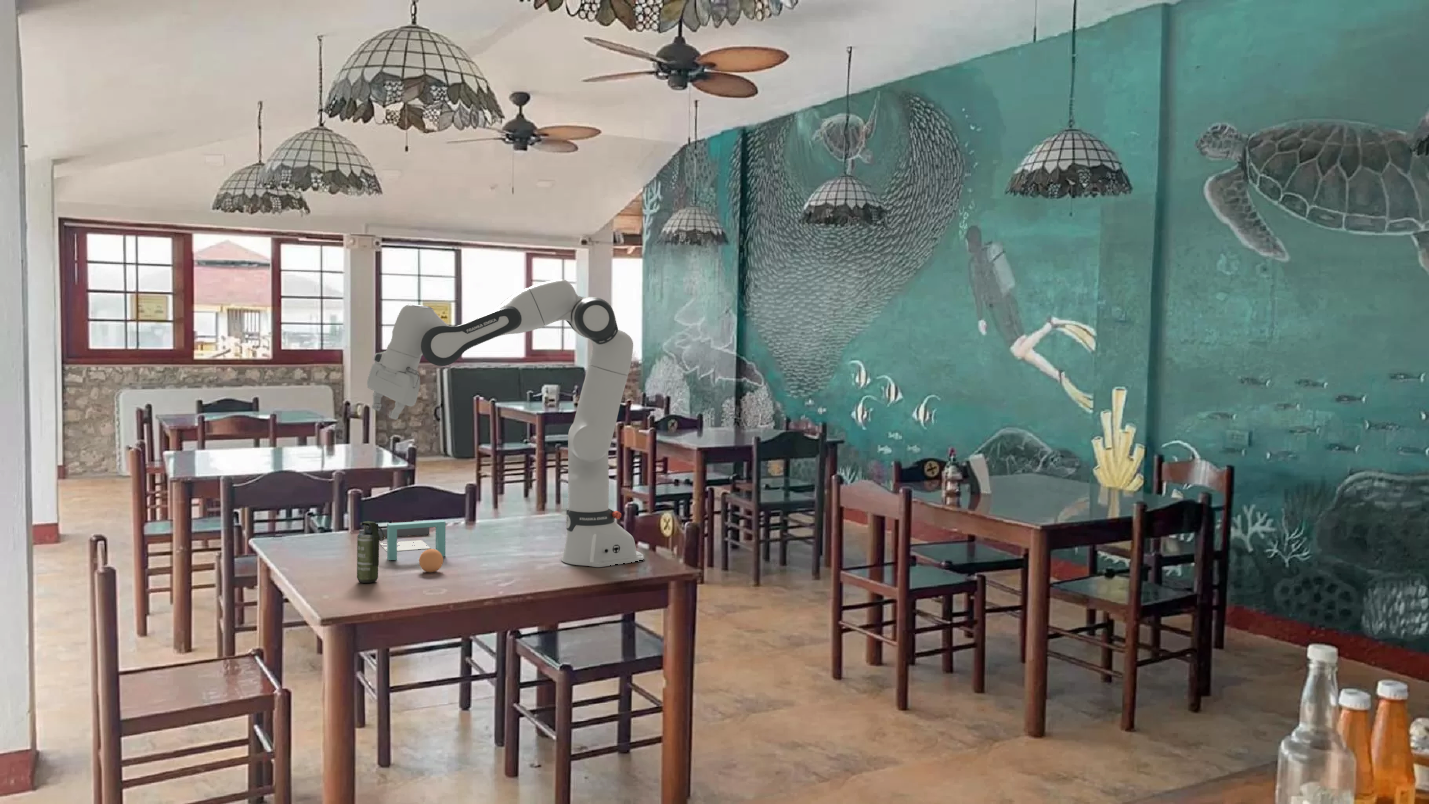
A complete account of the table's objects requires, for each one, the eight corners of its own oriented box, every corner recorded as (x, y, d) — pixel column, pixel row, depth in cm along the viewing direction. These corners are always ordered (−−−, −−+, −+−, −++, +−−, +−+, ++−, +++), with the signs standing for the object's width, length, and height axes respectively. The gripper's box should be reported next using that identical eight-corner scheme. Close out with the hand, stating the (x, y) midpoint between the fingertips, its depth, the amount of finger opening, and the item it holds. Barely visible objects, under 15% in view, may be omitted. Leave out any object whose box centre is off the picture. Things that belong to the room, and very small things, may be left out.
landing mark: (421, 540, 320) (421, 539, 320) (430, 548, 309) (430, 548, 309) (379, 543, 314) (379, 542, 314) (387, 552, 304) (387, 551, 304)
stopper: (427, 533, 331) (427, 525, 330) (429, 534, 329) (429, 526, 329) (359, 538, 321) (359, 529, 321) (360, 539, 320) (360, 530, 320)
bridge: (387, 558, 295) (387, 523, 295) (442, 554, 302) (442, 519, 302) (389, 561, 293) (389, 525, 292) (445, 556, 300) (445, 521, 299)
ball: (440, 568, 286) (440, 545, 285) (445, 573, 280) (445, 550, 280) (416, 570, 283) (416, 547, 282) (421, 575, 278) (421, 552, 277)
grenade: (352, 582, 269) (352, 522, 268) (369, 578, 274) (369, 519, 273) (370, 586, 266) (370, 525, 265) (387, 581, 271) (387, 521, 270)
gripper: (431, 374, 278) (414, 426, 278) (392, 358, 292) (376, 407, 292) (410, 369, 274) (392, 421, 274) (371, 352, 288) (355, 402, 288)
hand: (384, 414), depth 283 cm, fingers open, 8 cm apart
